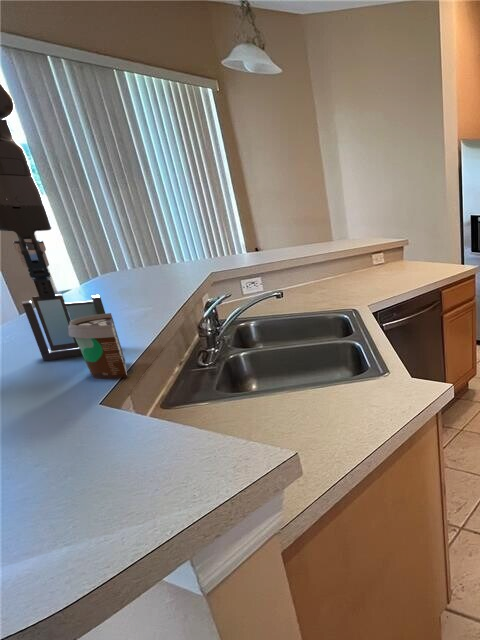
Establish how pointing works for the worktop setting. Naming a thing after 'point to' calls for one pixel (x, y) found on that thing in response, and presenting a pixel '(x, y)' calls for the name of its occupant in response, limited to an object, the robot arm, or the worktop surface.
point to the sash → (55, 322)
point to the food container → (99, 345)
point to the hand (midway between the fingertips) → (48, 298)
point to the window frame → (75, 312)
